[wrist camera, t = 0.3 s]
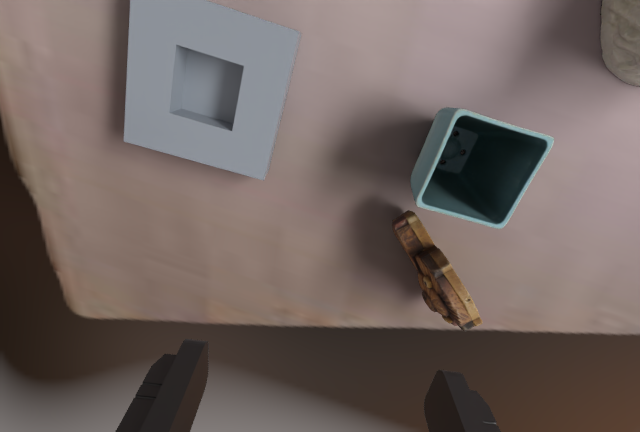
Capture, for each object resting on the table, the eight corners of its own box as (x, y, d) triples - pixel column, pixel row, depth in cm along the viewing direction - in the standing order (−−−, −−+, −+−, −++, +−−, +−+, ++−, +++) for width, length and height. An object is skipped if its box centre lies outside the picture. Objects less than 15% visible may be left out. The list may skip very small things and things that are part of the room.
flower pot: (394, 174, 38) (413, 206, 30) (425, 94, 34) (457, 106, 26) (465, 194, 39) (503, 231, 31) (503, 119, 35) (558, 138, 27)
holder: (151, -17, 30) (131, -25, 27) (301, 34, 32) (299, 31, 29) (141, 133, 36) (123, 141, 33) (268, 170, 38) (263, 180, 35)
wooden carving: (371, 215, 40) (386, 261, 31) (405, 193, 39) (429, 235, 30) (438, 302, 46) (467, 363, 37) (469, 286, 45) (506, 345, 36)
